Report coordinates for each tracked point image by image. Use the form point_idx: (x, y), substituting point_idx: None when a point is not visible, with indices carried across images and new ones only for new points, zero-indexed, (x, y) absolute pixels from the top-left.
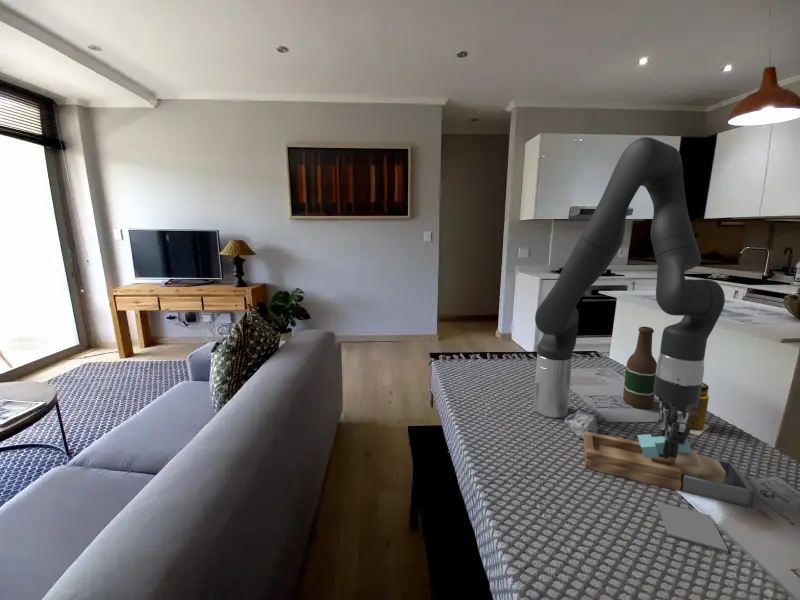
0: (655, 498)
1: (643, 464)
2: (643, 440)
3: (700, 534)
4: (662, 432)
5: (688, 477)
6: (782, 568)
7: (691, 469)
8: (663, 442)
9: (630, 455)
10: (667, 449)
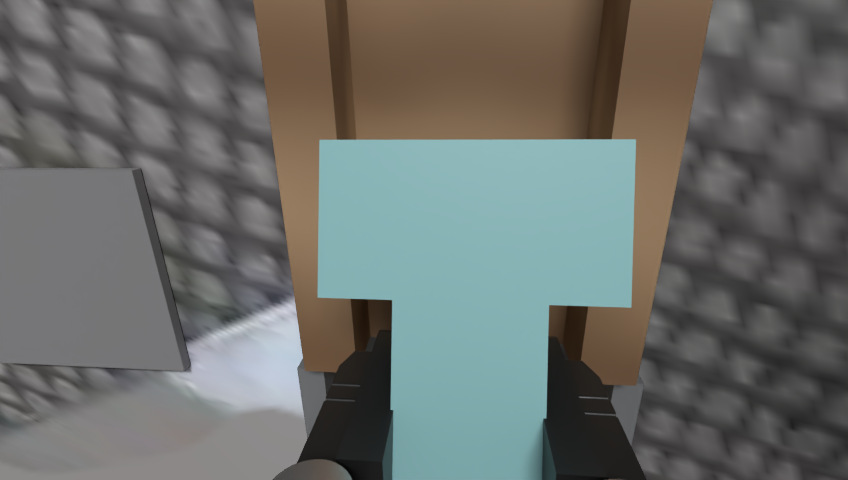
0: (185, 169)
1: (274, 137)
2: (476, 191)
3: (22, 299)
4: (557, 472)
5: (307, 387)
6: (61, 470)
7: None
8: (393, 399)
9: (507, 70)
10: (347, 388)
